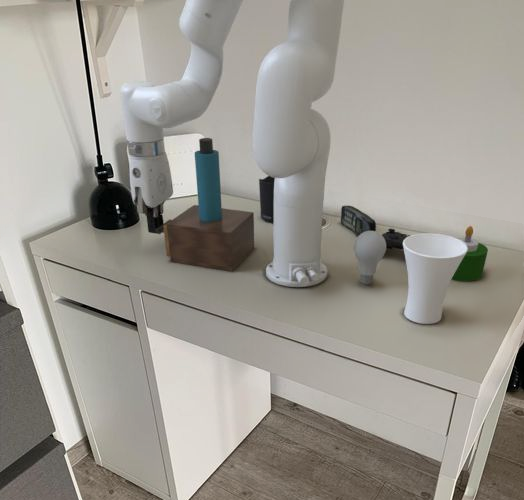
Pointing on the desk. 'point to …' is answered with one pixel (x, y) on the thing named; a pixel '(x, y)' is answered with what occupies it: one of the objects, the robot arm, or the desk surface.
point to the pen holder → (267, 198)
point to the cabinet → (211, 239)
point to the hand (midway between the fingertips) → (156, 231)
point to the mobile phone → (356, 220)
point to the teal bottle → (208, 181)
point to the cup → (430, 273)
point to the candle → (471, 259)
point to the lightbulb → (369, 254)
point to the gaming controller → (394, 239)
